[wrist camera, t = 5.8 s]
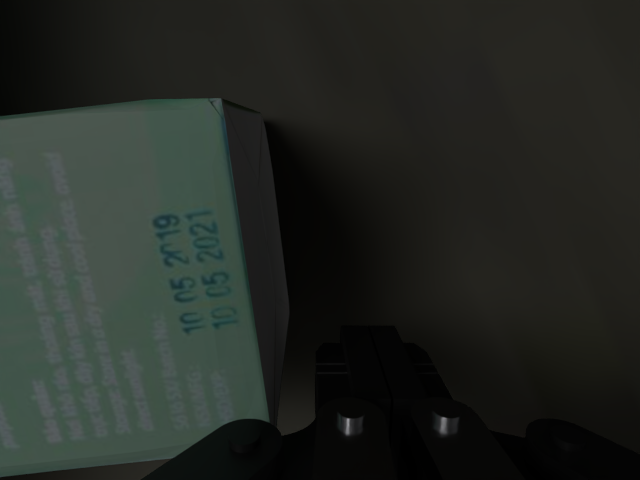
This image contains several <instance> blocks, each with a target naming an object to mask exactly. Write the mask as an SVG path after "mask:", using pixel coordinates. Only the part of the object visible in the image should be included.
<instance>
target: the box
mask: <svg viewBox="0 0 640 480" xmlns="http://www.w3.org/2000/svg"><path fill="white" fill-rule="evenodd" d="M289 314H290V313H289V299H288V291H287V283H286V274H285V266H284V258H283V250H282V242H281V234H280V226H279V218H278V210H277V202H276V193H275V185H274V177H273V171H272V164H271V158H270V152H269V146H268V140H267V135H266V129H265V125H264V122H263V119H262V116H261V113H260V112H257V111H254V110H252V109H249V108H246V107H243V106H240V105H238V104H235V103H232V102H230V101H227V100H224V99H221V98H211V99H152V100H141V101H132V102H123V103H115V104H106V105H97V106H88V107H79V108H71V109H62V110H53V111H44V112H35V113H26V114H17V115H8V116H0V477H5V476H13V475H22V474H31V473H39V472H48V471H56V470H66V469H75V468H84V467H94V466H103V465H112V464H122V463H131V462H140V461H150V460H159V459H169V458H174V457H176V456H177V455H179V454H180V453H182V452H183V451H185V450H186V449H188V448H189V447H191V446H192V445H194V444H195V443H197V442H198V441H200V440H201V439H203V438H204V437H206V436H207V435H209V434H210V433H212V432H213V431H215V430H216V429H218V428H219V427H221V426H223V425H224V424H226V423H229V422H232V421H235V420H240V419H260V420H263V421H266V422H269V423H271V424H272V425H274V426H275V427H276V426H277V417H278V407H279V397H280V387H281V379H282V371H283V363H284V355H285V346H286V338H287V330H288V322H289Z"/></svg>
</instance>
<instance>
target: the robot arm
mask: <svg viewBox="0 0 640 480" xmlns="http://www.w3.org/2000/svg"><path fill="white" fill-rule="evenodd" d="M315 414H316V418H315V420H314V421H313V422H312V423H311V424H310V425H309V426H308V427H306V428H304V429H303V430H300V431H298V432H295V433H292V434H288V435H284V436H281V433H280V431H279V430H278V429H277V428H276V427H275V426H274V425H272V424H271V423H269V422H266V421H263V420H260V419H240V420H235V421H232V422H229V423H226V424H224V425H223V426H221V427H219V428H218V429H216V430H215V431H213V432H212V433H210V434H209V435H207V436H206V437H204V438H203V439H201V440H200V441H198V442H197V443H195V444H194V445H192V446H191V447H189V448H188V449H186V450H185V451H183V452H182V453H180V454H179V455H177V456H176V457H174V458H173V459H171V460H170V461H168V462H167V463H165V464H164V465H162V466H161V467H159V468H158V469H156V470H155V471H153V472H152V473H150V474H149V475H147V476H146V477H144V478H143V479H141V480H640V454H638V453H635V452H633V451H631V450H629V449H627V448H625V447H623V446H621V445H618V444H616V443H614V442H612V441H610V440H608V439H606V438H603V437H601V436H599V435H597V434H595V433H593V432H591V431H589V430H586V429H584V428H582V427H580V426H578V425H575V424H572V423H569V422H566V421H562V420H557V419H538V420H535V421H533V422H531V423H530V424H529V425H528V426H527V429H526V436H525V438H522V437H518V436H513V435H508V434H503V433H499V432H495V431H491V430H489V429H488V428H487V427H486V425H485V424H484V422H483V421H482V420H481V418H480V417H479V416H478V414H477V413H476V412H475V411H474V410H472V409H471V408H470V407H468V406H467V405H465V404H463V403H461V402H458V401H456V400H453V399H452V397H451V395H450V393H449V391H448V390H447V388H446V386H445V384H444V383H443V381H442V379H441V377H440V375H439V374H438V372H437V370H436V368H435V366H434V365H433V363H432V361H431V359H430V358H429V356H428V354H427V352H425V351H424V350H423V349H421V348H420V347H419V346H417V345H416V344H414V343H402V340H401V338H400V336H399V334H398V332H397V330H396V328H395V326H341V331H340V343H323V344H322V345H321V346H320V348H319V349H318V350H317V351H316V375H315Z"/></svg>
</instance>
